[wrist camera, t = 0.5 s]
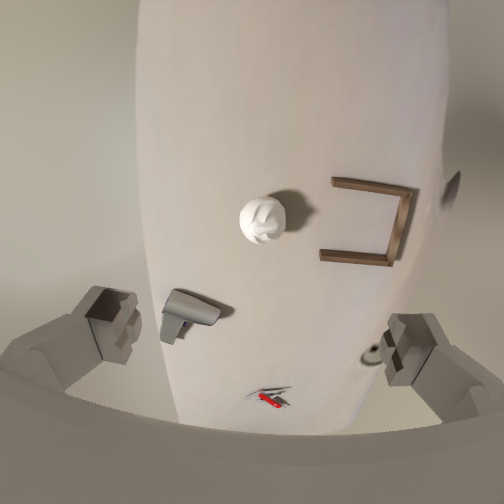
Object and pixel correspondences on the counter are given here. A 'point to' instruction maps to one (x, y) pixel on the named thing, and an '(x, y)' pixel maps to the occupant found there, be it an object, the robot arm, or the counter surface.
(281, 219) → the white sculpted ball
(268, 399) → the swiss army knife
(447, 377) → the robot arm
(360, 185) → the bay
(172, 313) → the infrared thermometer
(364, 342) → the counter surface
